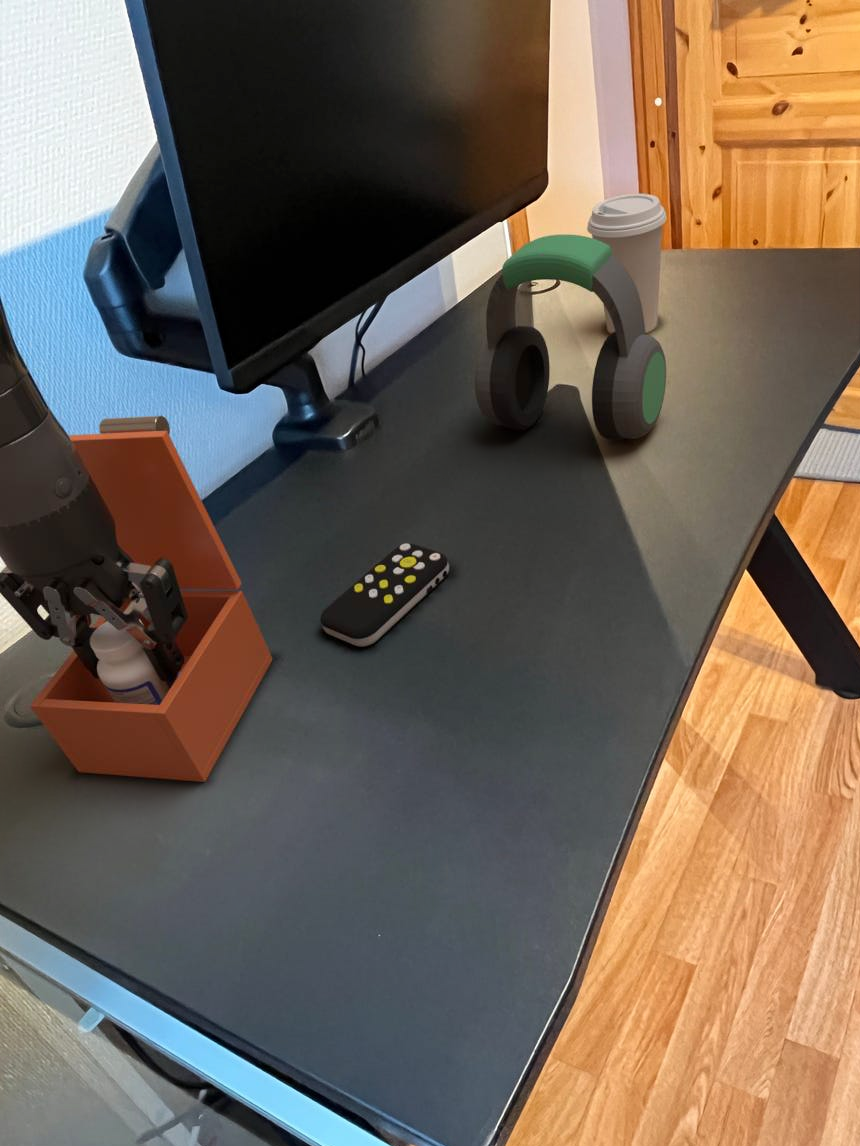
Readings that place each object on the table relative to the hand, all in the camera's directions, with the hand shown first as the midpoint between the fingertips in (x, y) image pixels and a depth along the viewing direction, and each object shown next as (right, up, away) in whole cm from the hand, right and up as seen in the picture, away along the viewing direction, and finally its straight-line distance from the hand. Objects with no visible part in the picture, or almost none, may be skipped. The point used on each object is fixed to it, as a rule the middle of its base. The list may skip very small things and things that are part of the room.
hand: (139, 672), depth 68 cm
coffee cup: (+47, +44, +47) cm, 79 cm away
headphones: (+37, +26, +29) cm, 54 cm away
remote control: (+18, +6, +12) cm, 23 cm away
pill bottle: (+1, -4, +4) cm, 6 cm away
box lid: (0, +12, -1) cm, 12 cm away
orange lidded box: (+1, -4, +5) cm, 6 cm away
